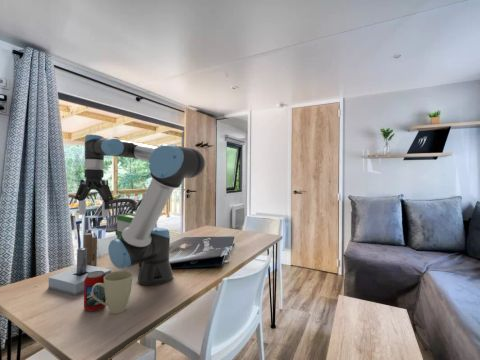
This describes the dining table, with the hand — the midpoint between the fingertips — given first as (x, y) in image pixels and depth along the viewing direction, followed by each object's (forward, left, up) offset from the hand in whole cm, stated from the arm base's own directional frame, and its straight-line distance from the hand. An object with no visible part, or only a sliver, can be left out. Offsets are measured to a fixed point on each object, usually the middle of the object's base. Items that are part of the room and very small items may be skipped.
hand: (93, 215), depth 111 cm
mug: (-32, +17, -28) cm, 46 cm away
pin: (-2, +7, -27) cm, 28 cm away
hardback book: (+4, -27, -28) cm, 39 cm away
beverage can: (-24, +18, -28) cm, 41 cm away
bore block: (-2, +7, -28) cm, 29 cm away
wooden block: (+11, -7, -28) cm, 31 cm away
